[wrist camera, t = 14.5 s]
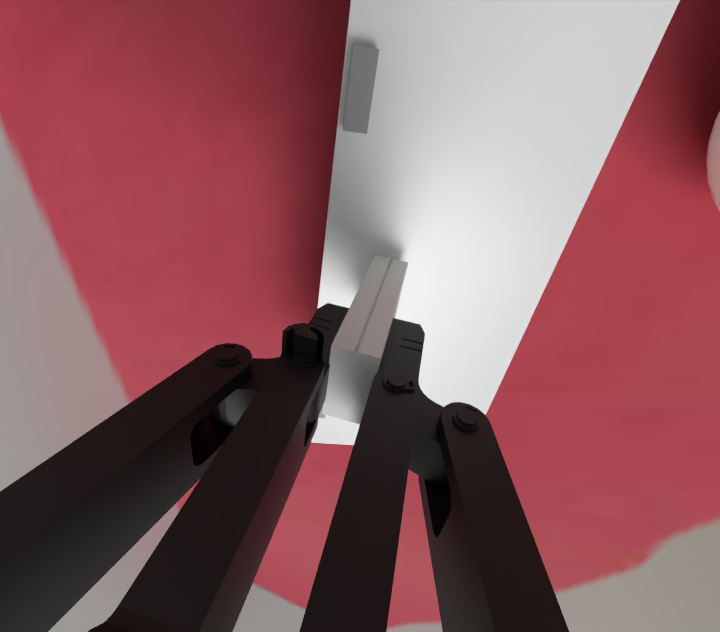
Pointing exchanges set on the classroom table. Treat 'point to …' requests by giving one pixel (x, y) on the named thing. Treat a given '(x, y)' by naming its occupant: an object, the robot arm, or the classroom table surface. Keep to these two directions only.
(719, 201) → the lidded jar
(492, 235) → the cover
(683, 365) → the classroom table surface
